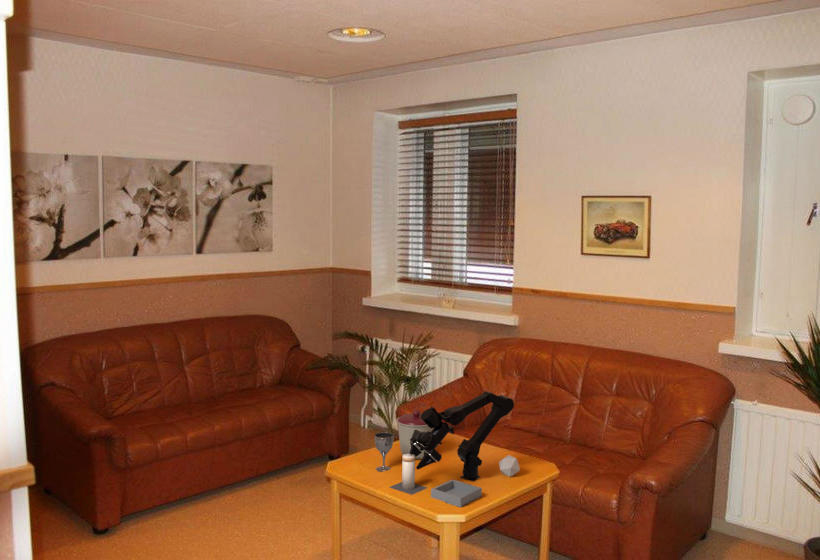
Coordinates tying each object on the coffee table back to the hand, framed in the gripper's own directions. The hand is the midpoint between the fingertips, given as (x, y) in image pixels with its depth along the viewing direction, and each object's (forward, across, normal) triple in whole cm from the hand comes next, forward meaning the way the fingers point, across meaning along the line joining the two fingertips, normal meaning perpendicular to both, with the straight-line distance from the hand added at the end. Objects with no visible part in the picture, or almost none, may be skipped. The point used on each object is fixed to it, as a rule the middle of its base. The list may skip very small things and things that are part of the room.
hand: (411, 465), depth 292 cm
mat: (+7, 0, +6) cm, 9 cm away
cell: (+7, 0, +5) cm, 9 cm away
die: (-25, +3, +38) cm, 45 cm away
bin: (-2, +16, +15) cm, 22 cm away
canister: (-7, -35, +20) cm, 41 cm away
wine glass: (+8, -24, +6) cm, 26 cm away
